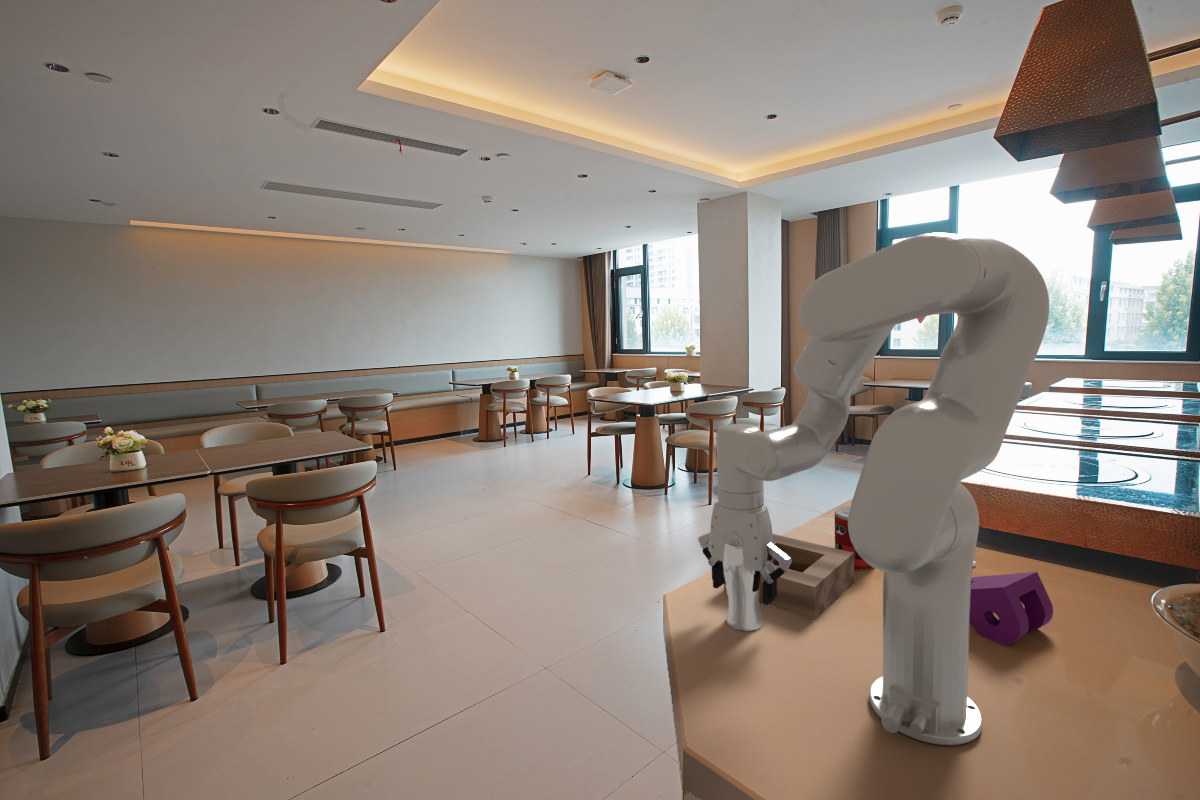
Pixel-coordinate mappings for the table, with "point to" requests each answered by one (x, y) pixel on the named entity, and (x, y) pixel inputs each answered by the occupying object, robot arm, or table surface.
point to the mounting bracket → (1008, 606)
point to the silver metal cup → (741, 591)
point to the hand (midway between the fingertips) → (743, 593)
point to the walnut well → (811, 576)
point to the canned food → (846, 537)
